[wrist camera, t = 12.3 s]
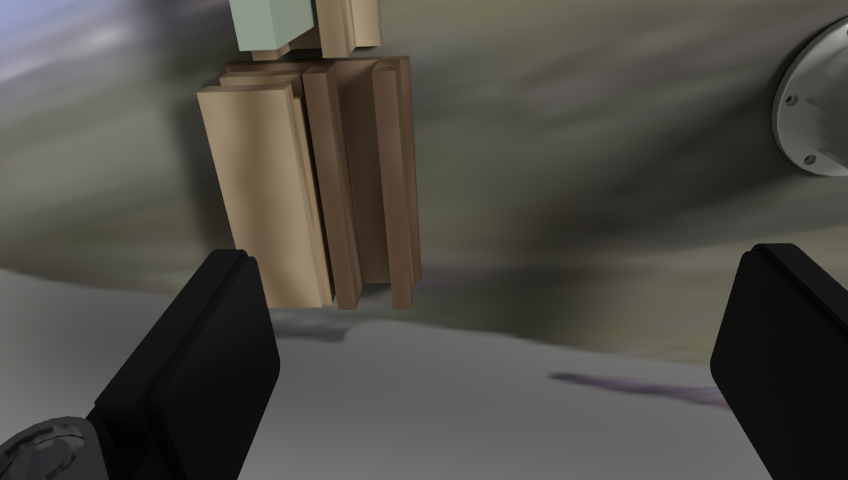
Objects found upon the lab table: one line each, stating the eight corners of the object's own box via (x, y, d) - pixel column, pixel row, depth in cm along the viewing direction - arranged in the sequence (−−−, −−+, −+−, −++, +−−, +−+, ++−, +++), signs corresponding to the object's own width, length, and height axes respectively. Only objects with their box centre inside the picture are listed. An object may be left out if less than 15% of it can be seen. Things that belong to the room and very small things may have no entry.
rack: (409, 55, 40) (402, 75, 34) (421, 275, 50) (417, 319, 44) (229, 62, 41) (193, 82, 35) (276, 277, 51) (254, 320, 45)
